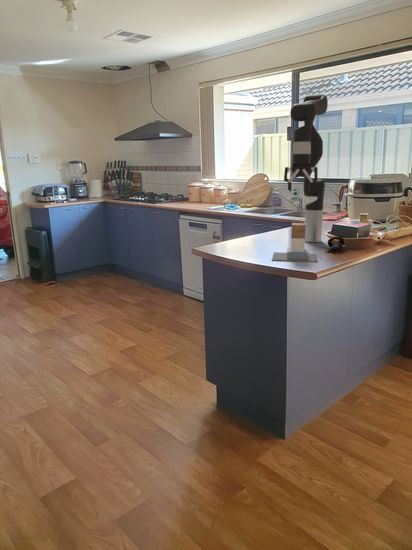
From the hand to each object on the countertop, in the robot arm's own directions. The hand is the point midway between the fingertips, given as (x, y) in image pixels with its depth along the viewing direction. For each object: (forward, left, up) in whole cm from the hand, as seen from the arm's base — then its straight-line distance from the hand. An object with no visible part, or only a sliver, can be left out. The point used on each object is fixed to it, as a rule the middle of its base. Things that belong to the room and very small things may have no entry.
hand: (300, 191), depth 190 cm
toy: (-18, +18, -30) cm, 40 cm away
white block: (0, 0, -27) cm, 27 cm away
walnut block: (0, 0, -21) cm, 21 cm away
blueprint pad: (0, 0, -30) cm, 30 cm away
